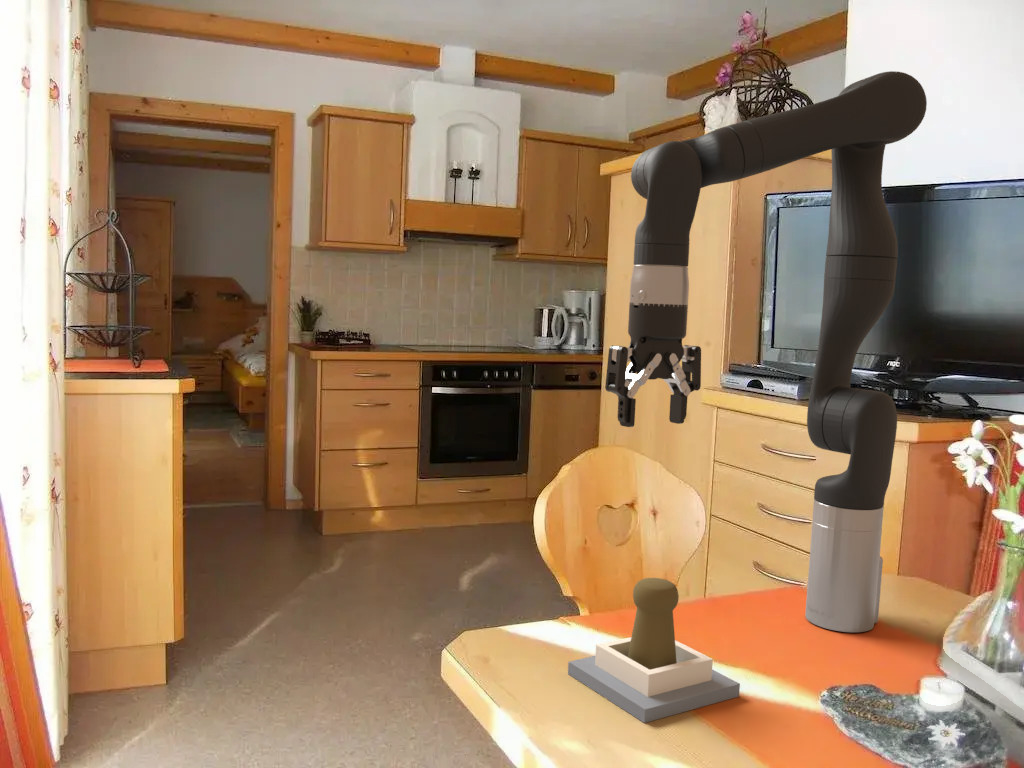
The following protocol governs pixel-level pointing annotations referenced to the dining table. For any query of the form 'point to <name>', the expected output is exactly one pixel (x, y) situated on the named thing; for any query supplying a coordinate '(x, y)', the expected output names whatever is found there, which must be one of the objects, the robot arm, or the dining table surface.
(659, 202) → the robot arm
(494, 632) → the dining table surface
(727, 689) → the board
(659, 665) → the olive brown knobbed peg
